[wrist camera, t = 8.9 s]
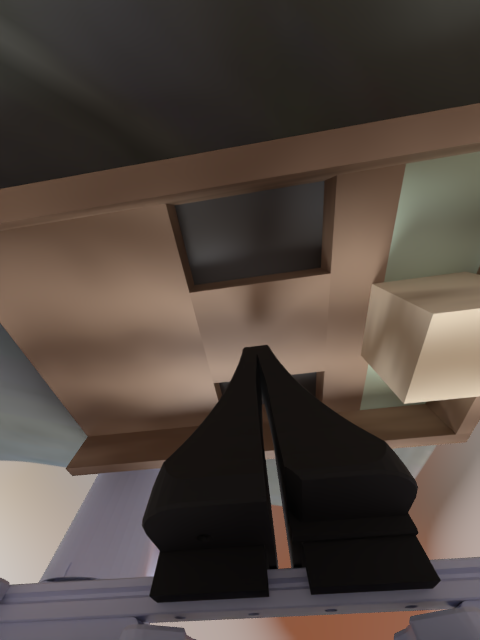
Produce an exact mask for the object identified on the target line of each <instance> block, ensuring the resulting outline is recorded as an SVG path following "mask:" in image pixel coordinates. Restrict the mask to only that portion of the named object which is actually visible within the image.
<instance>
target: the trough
mask: <svg viewBox="0 0 480 640" xmlns="http://www.w3.org/2000/svg"><path fill="white" fill-rule="evenodd" d="M458 272H470V273H474V274H478V275H480V103H477V104H471V105H466V106H460V107H454V108H449V109H443V110H438V111H432V112H427V113H421V114H415V115H410V116H404V117H399V118H393V119H387V120H382V121H376V122H371V123H365V124H360V125H354V126H348V127H343V128H337V129H332V130H326V131H321V132H315V133H309V134H304V135H298V136H293V137H287V138H282V139H276V140H270V141H265V142H259V143H254V144H248V145H243V146H237V147H231V148H226V149H220V150H215V151H209V152H204V153H198V154H192V155H187V156H181V157H176V158H170V159H165V160H159V161H153V162H148V163H142V164H137V165H131V166H125V167H120V168H114V169H109V170H103V171H98V172H92V173H86V174H81V175H75V176H70V177H64V178H59V179H53V180H47V181H42V182H36V183H31V184H25V185H20V186H14V187H8V188H3V189H0V323H1V324H2V326H3V327H4V328H5V329H6V331H7V332H8V333H9V335H10V336H11V337H12V339H13V340H14V341H15V342H16V344H17V345H18V346H19V348H20V349H21V350H22V352H23V353H24V354H25V355H26V357H27V358H28V359H29V361H30V362H31V363H32V365H33V366H34V367H35V368H36V370H37V371H38V372H39V374H40V375H41V376H42V378H43V379H44V380H45V381H46V383H47V384H48V385H49V387H50V388H51V389H52V391H53V392H54V393H55V394H56V396H57V397H58V398H59V400H60V401H61V402H62V404H63V405H64V406H65V408H66V409H67V410H68V411H69V413H70V414H71V415H72V417H73V418H74V419H75V421H76V422H77V423H78V424H79V426H80V427H81V428H82V430H83V431H84V432H85V434H86V435H87V436H88V437H87V439H86V440H85V442H84V443H83V444H82V446H81V447H80V449H79V450H78V452H77V453H76V455H75V456H74V457H73V459H72V460H71V462H70V463H69V465H68V466H67V468H66V469H67V471H68V472H69V473H70V474H71V475H72V476H76V475H87V474H99V473H111V472H123V471H135V470H146V469H158V468H161V467H162V464H163V462H164V461H165V460H167V459H168V458H169V457H170V456H171V455H172V454H173V453H174V452H175V451H176V450H177V449H178V448H179V447H180V446H181V445H182V444H183V443H184V442H185V441H186V440H187V439H188V438H189V437H190V436H191V434H192V433H193V432H194V431H195V430H196V429H197V428H198V426H199V425H200V424H201V423H202V422H203V421H204V420H205V418H206V417H207V416H208V415H209V413H210V412H211V411H212V409H213V408H214V406H215V405H216V404H217V402H218V401H219V399H220V398H221V396H222V395H223V393H224V391H225V390H226V388H227V386H228V384H229V382H230V381H231V379H232V377H233V375H234V373H235V370H236V368H237V366H238V363H239V361H240V358H241V355H242V350H243V348H244V347H252V346H260V345H268V346H269V347H270V349H271V350H272V352H273V353H274V355H275V356H276V358H277V359H278V360H279V361H280V363H281V364H282V365H283V366H284V367H285V369H286V370H287V371H288V372H289V373H290V374H291V375H292V376H293V377H294V378H295V379H296V380H297V381H298V382H299V383H300V384H301V385H302V386H303V387H304V388H305V389H306V390H307V391H309V392H310V393H311V394H312V395H313V396H315V397H316V398H317V399H318V400H320V401H321V402H322V403H324V404H325V405H326V406H328V407H329V408H331V409H332V410H334V411H335V412H336V413H338V414H339V415H341V416H342V417H344V418H345V419H347V420H348V421H350V422H352V423H353V424H355V425H357V426H358V427H360V428H362V429H364V430H366V431H367V432H369V433H371V434H373V435H375V436H376V437H378V438H380V439H382V440H384V441H385V442H387V444H388V445H389V446H390V447H391V449H392V448H404V447H416V446H427V445H439V444H449V443H450V444H451V443H462V442H467V440H468V438H469V437H470V435H471V433H472V431H473V430H474V428H475V426H476V425H477V423H478V422H479V420H480V396H479V397H468V398H458V399H448V400H438V401H427V402H417V403H407V404H404V403H403V402H402V401H401V400H400V399H399V398H398V397H397V395H396V394H395V393H394V392H393V391H392V390H391V389H390V388H389V386H388V385H387V384H386V383H385V382H384V381H383V380H382V379H381V377H380V376H379V375H378V374H377V373H376V372H375V371H374V370H373V368H372V367H371V366H370V365H369V364H368V363H367V362H366V361H365V359H364V358H363V357H362V356H361V350H362V344H363V337H364V331H365V325H366V319H367V313H368V306H369V300H370V294H371V288H372V284H375V283H383V282H391V281H398V280H406V279H413V278H421V277H428V276H436V275H443V274H451V273H458ZM262 419H263V441H264V450H265V459H275V452H274V445H273V440H272V435H271V430H270V426H269V422H268V417H267V413H266V409H265V405H264V401H263V396H262Z"/></svg>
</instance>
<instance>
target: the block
mask: <svg viewBox="0 0 480 640" xmlns="http://www.w3.org/2000/svg"><path fill="white" fill-rule="evenodd" d="M361 356H362V357H363V358H364V359H365V361H366V362H367V363H368V364H369V365H370V366H371V367H372V368H373V370H374V371H375V372H376V373H377V374H378V375H379V376H380V377H381V379H382V380H383V381H384V382H385V383H386V384H387V385H388V386H389V388H390V389H391V390H392V391H393V392H394V393H395V394H396V395H397V397H398V398H399V399H400V400H401V401H402V402H403V403H404V404H407V403H417V402H427V401H438V400H448V399H458V398H468V397H479V396H480V275H478V274H474V273H470V272H458V273H451V274H443V275H436V276H428V277H421V278H413V279H406V280H398V281H391V282H383V283H375V284H372V288H371V294H370V300H369V306H368V313H367V319H366V325H365V331H364V337H363V344H362V350H361Z"/></svg>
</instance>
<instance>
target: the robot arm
mask: <svg viewBox="0 0 480 640" xmlns="http://www.w3.org/2000/svg"><path fill="white" fill-rule="evenodd" d="M262 396H263V401H264V405H265V409H266V413H267V417H268V422H269V426H270V430H271V435H272V440H273V445H274V452H275V459H276V465H277V472H278V479H279V485H280V492H281V499H282V506H283V513H284V519H285V526H286V533H287V540H288V546H289V553H290V560H291V568H286V569H278V560H277V552H276V544H275V535H274V527H273V518H272V510H271V501H270V493H269V485H268V476H267V468H266V459H265V450H264V441H263V419H262ZM417 488H418V486H417V483H416V481H415V479H414V478H413V476H412V475H411V473H410V472H409V471H408V469H407V468H406V466H405V465H404V463H403V462H402V461H401V460H400V458H399V457H398V456H397V455H396V453H395V452H394V451H393V450H392V449H391V447H390V446H389V445H388V444H387V442H385V441H384V440H382V439H380V438H378V437H376V436H375V435H373V434H371V433H369V432H367V431H366V430H364V429H362V428H360V427H358V426H357V425H355V424H353V423H352V422H350V421H348V420H347V419H345V418H344V417H342V416H341V415H339V414H338V413H336V412H335V411H334V410H332V409H331V408H329V407H328V406H326V405H325V404H324V403H322V402H321V401H320V400H318V399H317V398H316V397H315V396H313V395H312V394H311V393H310V392H309V391H307V390H306V389H305V388H304V387H303V386H302V385H301V384H300V383H299V382H298V381H297V380H296V379H295V378H294V377H293V376H292V375H291V374H290V373H289V372H288V371H287V370H286V369H285V367H284V366H283V365H282V364H281V363H280V361H279V360H278V359H277V358H276V356H275V355H274V353H273V352H272V350H271V349H270V347H269V346H268V345H260V346H252V347H244V348H243V350H242V355H241V358H240V361H239V363H238V366H237V368H236V370H235V373H234V375H233V377H232V379H231V381H230V382H229V384H228V386H227V388H226V390H225V391H224V393H223V395H222V396H221V398H220V399H219V401H218V402H217V404H216V405H215V406H214V408H213V409H212V411H211V412H210V413H209V415H208V416H207V417H206V418H205V420H204V421H203V422H202V423H201V424H200V425H199V426H198V428H197V429H196V430H195V431H194V432H193V433H192V434H191V436H190V437H189V438H188V439H187V440H186V441H185V442H184V443H183V444H182V445H181V446H180V447H179V448H178V449H177V450H176V451H175V452H174V453H173V454H172V455H171V456H170V457H169V458H168V459H167V460H165V461H164V462H163V464H162V467H161V468H158V469H146V470H135V471H123V472H111V473H99V474H98V476H97V478H96V479H95V482H94V483H93V485H92V487H91V489H90V490H89V492H88V494H87V496H86V498H85V500H84V502H83V503H82V505H81V507H80V509H79V510H78V513H77V514H76V516H75V518H74V520H73V521H72V523H71V525H70V527H69V529H68V531H67V532H66V534H65V536H64V538H63V540H62V541H61V543H60V545H59V547H58V549H57V551H56V552H55V554H54V556H53V558H52V560H51V561H50V563H49V565H48V567H47V569H46V571H45V572H44V574H43V576H42V578H41V580H40V581H39V583H32V584H17V585H9V582H8V581H6V580H4V579H2V578H0V640H195V639H192V638H191V637H189V636H187V635H186V632H185V630H184V628H177V627H167V626H155V625H150V623H157V622H178V621H200V620H222V619H243V618H265V617H287V616H308V615H328V614H329V615H330V614H351V613H372V612H394V611H414V610H415V611H416V610H438V609H447V610H442V611H436V612H432V613H426V614H420V615H415V616H411V617H410V621H409V623H410V625H409V626H408V627H407V628H406V629H403V630H401V631H399V632H397V633H395V634H394V640H480V557H472V558H457V559H456V558H455V559H438V560H429V558H428V557H427V555H426V553H425V551H424V549H423V548H422V546H421V544H420V542H419V541H418V539H417V537H416V535H417V534H418V531H417V528H416V526H415V524H414V522H413V521H412V519H411V517H410V516H409V514H408V511H409V509H410V508H411V506H412V503H413V502H414V500H415V498H416V494H417Z"/></svg>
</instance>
